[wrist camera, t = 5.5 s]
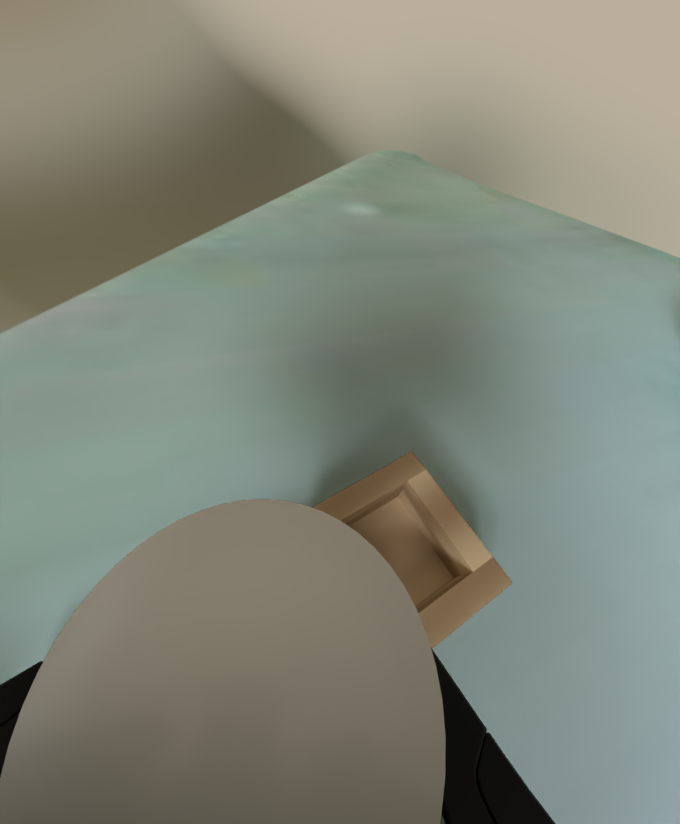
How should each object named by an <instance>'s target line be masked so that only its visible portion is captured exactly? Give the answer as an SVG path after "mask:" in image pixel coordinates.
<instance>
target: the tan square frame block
mask: <svg viewBox="0 0 680 824" xmlns="http://www.w3.org/2000/svg"><path fill="white" fill-rule="evenodd" d="M312 508H314V509H317V510H320V511H323V512H325V513H327V514H329V515H330V516H332V517H334V518H336V519H338V520H340V521H342V522H343V523H345V524H346V525H348V526H349V527H351V528H352V529H353V530H355V531H356V532H358V533H359V534H360V535H361V536H362V537H363V538H365V539H366V540H367V541H368V542H369V543H370V544H371V545H372V546H373V547H375V549H376V550H377V551H378V552H379V553H380V554H381V555H382V557H383V558H384V559H385V560H386V561H387V562H388V563H389V565H390V566H391V567H392V569H393V570H394V572H395V573H396V575H397V576H398V578H399V579H400V580H401V582H402V583H403V585H404V586H405V588H406V590H407V592H408V594H409V596H410V598H411V600H412V602H413V603H414V605H415V607H416V609H417V611H418V614H419V616H420V619H421V621H422V624H423V626H424V629H425V631H426V634H427V636H428V640H429V643H430V647H431V648H433V647H435V646H436V645H437V644H438V643H440V642H441V641H442V640H443V639H444V638H446V637H447V636H448V635H449V634H451V633H452V632H453V631H454V630H456V629H457V628H458V627H459V626H460V625H462V624H463V623H464V622H465V621H467V620H468V619H469V618H470V617H471V616H473V615H474V614H475V613H476V612H478V611H479V610H480V609H481V608H482V607H484V606H485V605H486V604H487V603H489V602H490V601H491V600H492V599H493V598H495V597H496V596H497V595H498V594H500V593H501V592H502V591H503V590H505V589H506V588H507V587H508V586H509V585H511V584H512V581H511V580H510V579H509V577H508V576H507V575H506V573H505V572H504V571H503V569H502V568H501V567H500V566H499V564H498V563H497V562H496V560H495V559H494V558H493V556H492V555H491V554H490V552H489V551H488V550H487V549H486V547H485V546H484V545H483V543H482V542H481V541H480V539H479V538H478V537H477V535H476V534H475V533H474V532H473V530H472V529H471V528H470V526H469V525H468V524H467V522H466V521H465V520H464V518H463V517H462V516H461V515H460V513H459V512H458V511H457V509H456V508H455V507H454V505H453V504H452V503H451V501H450V500H449V499H448V498H447V496H446V495H445V494H444V492H443V491H442V490H441V488H440V487H439V486H438V484H437V483H436V482H435V481H434V479H433V478H432V477H431V475H430V474H429V473H428V471H427V470H426V469H425V467H424V466H423V465H422V464H421V462H420V461H419V460H418V458H417V457H416V456H415V454H414V453H413V452H412V451H411V452H410V453H408V454H406V455H404V456H403V457H401V458H399V459H397V460H395V461H394V462H392V463H390V464H388V465H387V466H385V467H383V468H381V469H379V470H378V471H376V472H374V473H372V474H371V475H369V476H367V477H365V478H363V479H362V480H360V481H358V482H356V483H355V484H353V485H351V486H349V487H347V488H346V489H344V490H342V491H340V492H339V493H337V494H335V495H333V496H331V497H330V498H328V499H326V500H324V501H323V502H321V503H319V504H317V505H315V506H314V507H312Z"/></svg>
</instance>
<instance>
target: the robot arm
mask: <svg viewBox="0 0 680 824" xmlns="http://www.w3.org/2000/svg"><path fill="white" fill-rule="evenodd" d="M431 650H432V648H431ZM432 653H433V657H434V660H435V664H436V668H437V673H438V679H439V684H440V690H441V695H442V701H443V712H444V724H445V736H446V750H445V784H444V794H443V803H442V813H441V821H440V824H555V822H554V821H553V820H552V819H551V817H550V816H549V815H548V813H547V812H546V811H545V809H544V808H543V807H542V805H541V804H540V803H539V802H538V800H537V799H536V798H535V796H534V795H533V794H532V792H531V791H530V790H529V788H528V787H527V786H526V784H525V783H524V781H523V780H522V779H521V777H520V776H519V774H518V773H517V772H516V770H515V769H514V767H513V766H512V764H511V763H510V762H509V760H508V759H507V757H506V756H505V755H504V753H503V752H502V750H501V749H500V747H499V746H498V744H497V743H496V742H495V740H494V739H493V737H492V736H491V734H490V733H486V732H487V729H486V727H485V726H484V724H483V723H482V721H481V720H480V718H479V717H478V715H477V714H476V713H475V711H474V710H473V708H472V707H471V705H470V704H469V702H468V701H467V699H466V698H465V696H464V695H463V694H462V692H461V691H460V689H459V688H458V686H457V685H456V683H455V682H454V680H453V679H452V677H451V676H450V675H449V673H448V672H447V670H446V669H445V667H444V666H443V664H442V663H441V661H440V660H439V658H438V657H437V656H436V654H435V653H434V651H433V650H432ZM42 663H43V662H42V661H40V662H38V663H37V664H35V665H33V666H32V667H30V668H28V669H26V670H25V671H23V672H21V673H20V674H18V675H16V676H15V677H13V678H11V679H10V680H8V681H6V682H4V683H3V684H1V685H0V777H1V773H2V769H3V765H4V761H5V757H6V753H7V749H8V745H9V743H10V740H11V737H12V734H13V731H14V728H15V725H16V723H17V720H18V717H19V714H20V711H21V708H22V706H23V703H24V701H25V699H26V697H27V695H28V692H29V690H30V688H31V686H32V684H33V681H34V679H35V677H36V675H37V673H38V670H39V669H40V667H41V665H42Z"/></svg>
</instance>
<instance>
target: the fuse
mask: <svg viewBox="0 0 680 824" xmlns="http://www.w3.org/2000/svg"><path fill="white" fill-rule="evenodd" d="M445 750H446V736H445V724H444V712H443V701H442V695H441V690H440V684H439V679H438V673H437V668H436V664H435V660H434V657H433V653H432V650H431V647H430V643H429V640H428V636H427V634H426V631H425V629H424V626H423V624H422V621H421V619H420V616H419V614H418V611H417V609H416V607H415V605H414V603H413V602H412V600H411V598H410V596H409V594H408V592H407V590H406V588H405V586H404V585H403V583H402V582H401V580H400V579H399V578H398V576H397V575H396V573H395V572H394V570H393V569H392V567H391V566H390V565H389V563H388V562H387V561H386V560H385V559H384V558H383V557H382V555H381V554H380V553H379V552H378V551H377V550H376V549H375V547H373V546H372V545H371V544H370V543H369V542H368V541H367V540H366V539H365V538H363V537H362V536H361V535H360V534H359V533H358V532H356V531H355V530H353V529H352V528H351V527H349V526H348V525H346V524H345V523H343V522H342V521H340V520H338V519H336V518H334V517H332V516H330V515H329V514H327V513H325V512H323V511H320V510H317V509H314V508H311V507H309V506H306V505H303V504H298V503H293V502H288V501H283V500H270V499H255V500H241V501H236V502H230V503H224V504H220V505H217V506H214V507H210V508H207V509H204V510H201V511H199V512H196V513H194V514H192V515H189V516H187V517H185V518H182V519H180V520H178V521H176V522H175V523H173V524H171V525H169V526H167V527H166V528H164V529H162V530H160V531H159V532H157V533H156V534H154V535H153V536H151V537H150V538H149V539H147V540H146V541H144V542H143V543H142V544H140V545H139V546H137V547H136V548H135V549H134V550H133V551H131V552H130V553H129V554H128V555H127V556H126V557H124V558H123V559H122V560H121V561H120V562H119V563H117V564H116V565H115V566H114V567H113V568H112V569H111V570H110V571H109V572H108V573H107V575H106V576H105V577H104V578H103V579H102V580H101V581H100V582H99V583H98V584H97V585H96V586H95V587H94V588H93V590H92V591H91V592H90V593H89V594H88V596H87V597H86V598H85V599H84V601H83V602H82V603H81V604H80V606H79V607H78V608H77V609H76V610H75V612H74V613H73V615H72V616H71V618H70V619H69V621H68V622H67V624H66V625H65V627H64V628H63V630H62V631H61V633H60V634H59V635H58V637H57V638H56V640H55V642H54V644H53V645H52V647H51V649H50V651H49V653H48V654H47V656H46V658H45V660H44V662H43V663H42V665H41V667H40V669H39V670H38V673H37V675H36V677H35V679H34V681H33V684H32V686H31V688H30V690H29V692H28V695H27V697H26V699H25V701H24V703H23V706H22V708H21V711H20V714H19V717H18V720H17V723H16V725H15V728H14V731H13V734H12V737H11V740H10V743H9V745H8V749H7V753H6V757H5V761H4V765H3V769H2V773H1V777H0V824H440V821H441V813H442V803H443V794H444V784H445Z"/></svg>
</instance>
